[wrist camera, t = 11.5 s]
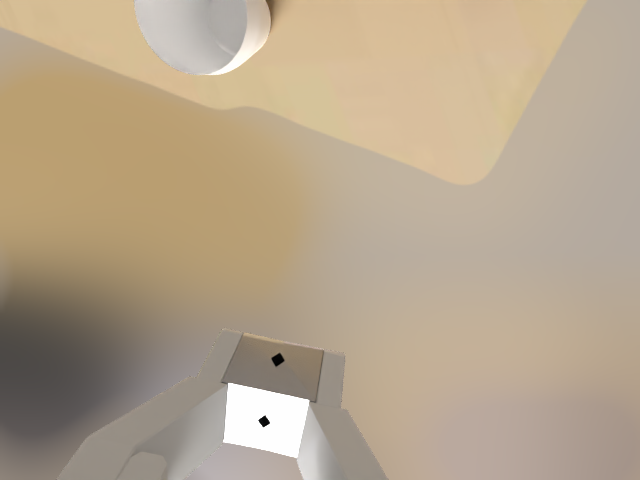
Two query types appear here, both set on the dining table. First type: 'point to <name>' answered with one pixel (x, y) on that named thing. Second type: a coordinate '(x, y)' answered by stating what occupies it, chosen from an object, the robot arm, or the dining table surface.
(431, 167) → the dining table surface
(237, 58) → the cup
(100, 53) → the dining table surface
